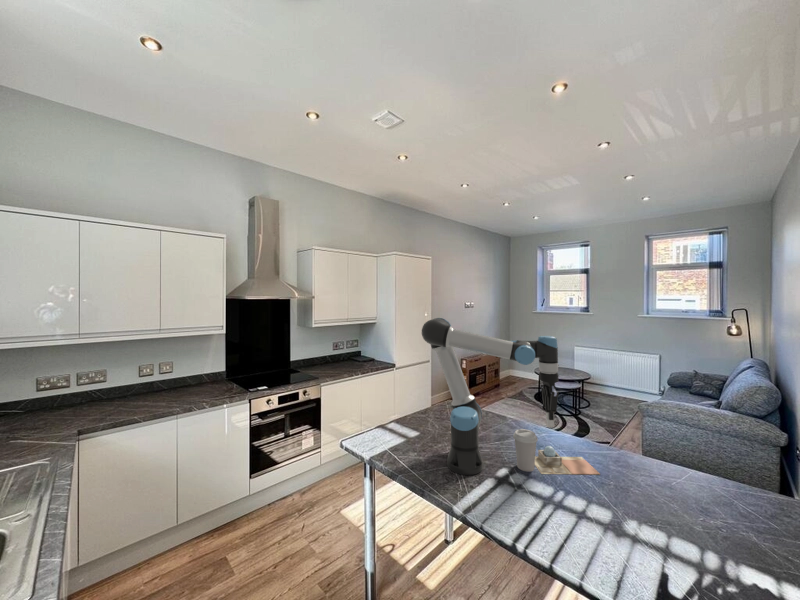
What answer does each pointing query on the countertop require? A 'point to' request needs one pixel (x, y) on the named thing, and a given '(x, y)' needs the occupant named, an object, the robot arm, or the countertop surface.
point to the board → (563, 465)
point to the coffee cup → (525, 449)
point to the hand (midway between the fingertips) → (550, 426)
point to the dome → (549, 451)
